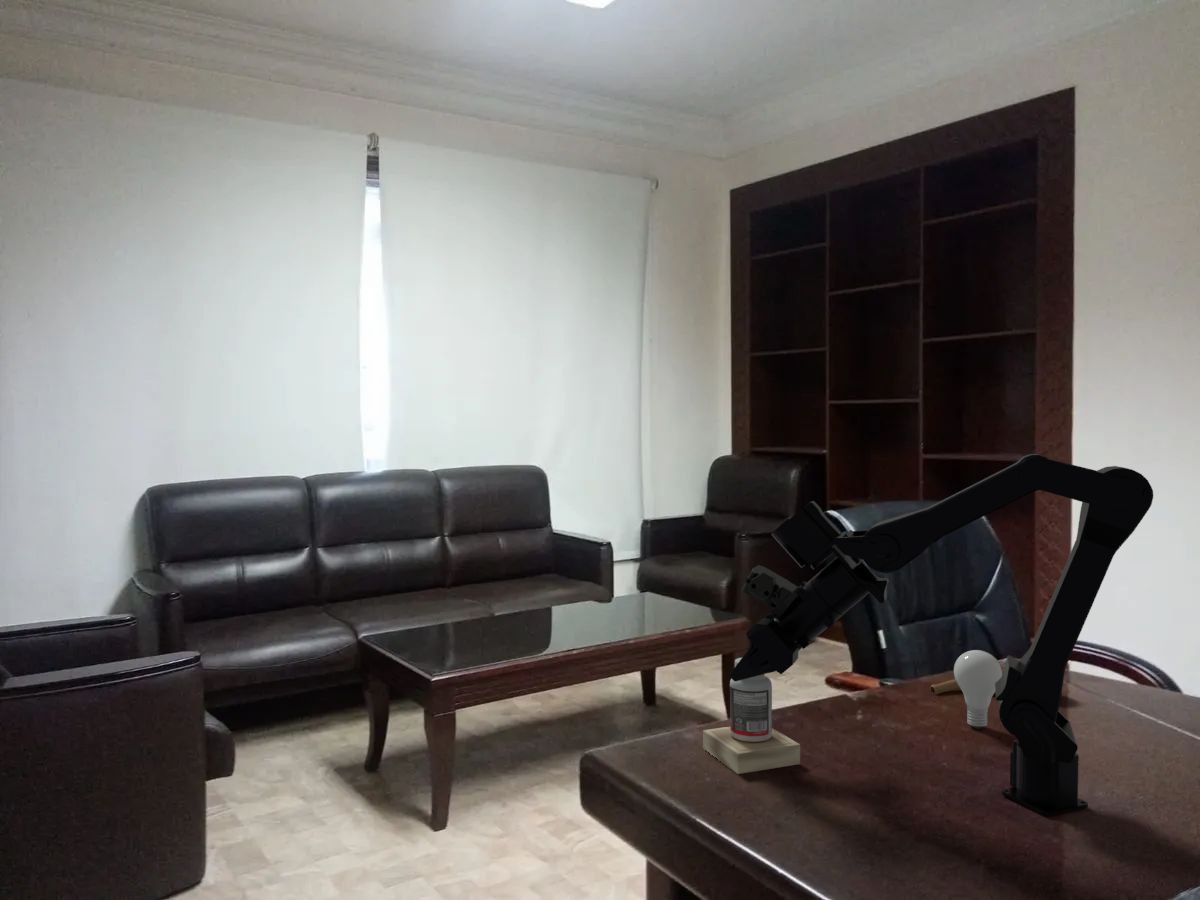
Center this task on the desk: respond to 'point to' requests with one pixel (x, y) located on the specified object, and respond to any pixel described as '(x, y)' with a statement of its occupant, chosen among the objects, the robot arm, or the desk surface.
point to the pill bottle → (751, 708)
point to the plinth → (751, 751)
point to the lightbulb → (977, 683)
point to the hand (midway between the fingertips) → (738, 672)
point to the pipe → (947, 686)
